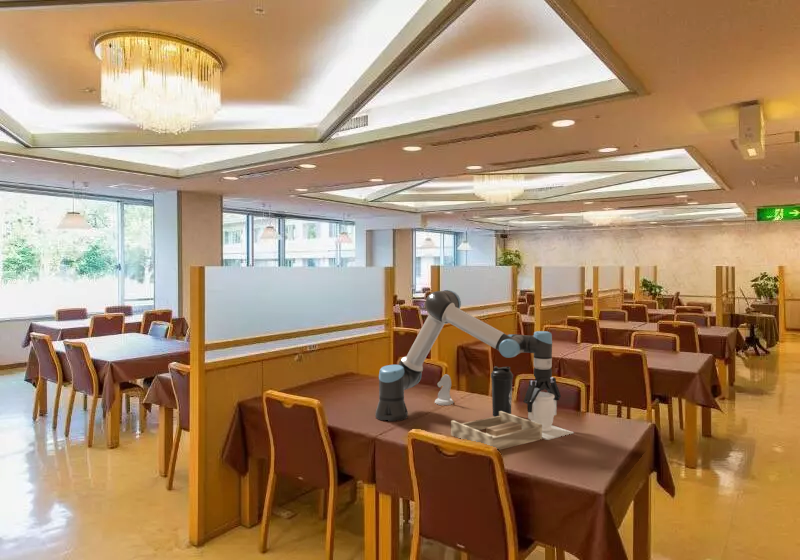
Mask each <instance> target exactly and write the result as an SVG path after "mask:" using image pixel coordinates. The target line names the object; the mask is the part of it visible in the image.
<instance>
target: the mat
mask: <svg viewBox="0 0 800 560" xmlns="http://www.w3.org/2000/svg"><path fill="white" fill-rule="evenodd" d="M551 427H552V430H551V431H548V432H542V439H544V440H546V441H549V440H553V439H557V438H562V437H565V435H566V436H568V435H569V434H570V435H574V433H575V432H574V431H571V430H568V429H566V428H562V427H559V426H555V425H553V424H552V425H551ZM570 435H569V436H570ZM561 436H562V437H561Z"/></svg>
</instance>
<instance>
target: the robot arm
mask: <svg viewBox="0 0 800 560" xmlns="http://www.w3.org/2000/svg"><path fill="white" fill-rule="evenodd" d="M461 305H462V300H461V297H460V296H459V295H458V294H457V292H455V291H453V290H450V289H445V290H439V291H438V290H435V291H433V292H431V293H429V294H428V295H427V296H426V298H425V302H424V306H425V311H426V313H427V315H428V316H427V317H426V319H425V320H424V323H423V325H422V327H421V329H420V330H419V332H418V334H417V336H416V338H415V340H414V342H413V344H412V345H411V347H410V348H409V351H408V353H407V355H405V356H403V357H401V359H400V360H399V363H398V364H389V365H388V364H387V365H384V366H381V368H380V369H379V373H378V390H379V392H378V396H379V397H378V402H377V407H376V409H375V418H376V419H377V420H380V421H383V420H388V421H387V422H397V421H396V420H399V421H404V420H406V419H408V418H409V413H408V409H407V405H406V403H405V390H409V389H411V388H413V387H415V386H417V385H418V384H419V382H420V381H421V380H422V372H423V370H424V367H423V364H424V363H425V361H426V358H427V356H428V354H429V353H430V351H431V349H432V348H433V345H434V344H435V342H436V340H437V339H438V337H439V335H440V333H441V331H442V330H443V329H444V325H445V324H446V325H448V324H450V325H452V326H454V327H456V328H457V329H459V330H461V331H462V332H465V333H466V334H469V335H470V336H471V337H473V338H475V339H477V340H479V341H481V342H482V343H484V344H486V345H488V346H490V347H492V348H493V349H496V350H497V351H498V352H499V353H500V354H501V356H502V357H504V358H506V359H507V358H510V359H511V358H515V357H517V355H520V354H521V353H525V354H526V353H527V354H528V353H529V354H533V367H534V368H533V377H534V378H535V379H534V380H532V379H529V382H528V386H527V389H526V392H525V396H524V398H523V403H524V404H526V405H527V412H528V413H527V420H530V421H531V420H534V405H533V403H534V401H535V399H536V397H537V395H538V393H539V392H542V391H545V390H546V391H547V393H551V394H554V395H555V397H554V399H553V400H554V406H555V412H554V416H557V407H558V401H560V398H561V397H562V396H561V392H560V390H559V386H558V385H557V378H556V377H554V376H553V369H552V367H553V366H552V365H553V364H552V363H553V362H552V361H553V360H552V359H553V334H552V332H549V331H545V330H537V331H534V332H533V335H529V334H528V335H525V334H515V333H514V334H512V333H511V334H507V333H504V332H503V331H502V330H499V329H497V328H495V327H493V326H492V325H490V324H488V323H486V322H485V321H483V320H481V319H478V318H477V317H475V316H473V315H472V314H470V313H468V312H466V311H464V310H462V309H461ZM530 401H531V402H530ZM403 419H404V420H403Z"/></svg>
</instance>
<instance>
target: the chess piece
mask: <svg viewBox="0 0 800 560" xmlns="http://www.w3.org/2000/svg"><path fill="white" fill-rule="evenodd" d="M437 387H438V388H440V390H439V391H438V393H437V398H436V399H435V400H434V404H435V403H436V404H435V405H437V404H438V405H439V406H451V404H452V405H454V404H453V403H454V400H453V399H452V395H451V394H450V393H451V387H452V379H451V376H450V375H449V374H447V373H446V374H443V376H442V377H441V378H440V380H439V381H438V382H437Z"/></svg>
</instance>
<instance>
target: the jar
mask: <svg viewBox="0 0 800 560" xmlns="http://www.w3.org/2000/svg"><path fill="white" fill-rule="evenodd" d="M554 397H555V395H554V394H551V393H548V391H547V392H545V391H540V392H539V393H538V395H537V397H536V399H535V401H534V403H533V405H534V420H530V421H533V422H536V423H539V424H542V432H548V431H551V430H552V427H551V425H553V423H554V419H555V418H554V417H555V415H554V412H555V406H554V400H553V399H554ZM530 402H531V401H530Z"/></svg>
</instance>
